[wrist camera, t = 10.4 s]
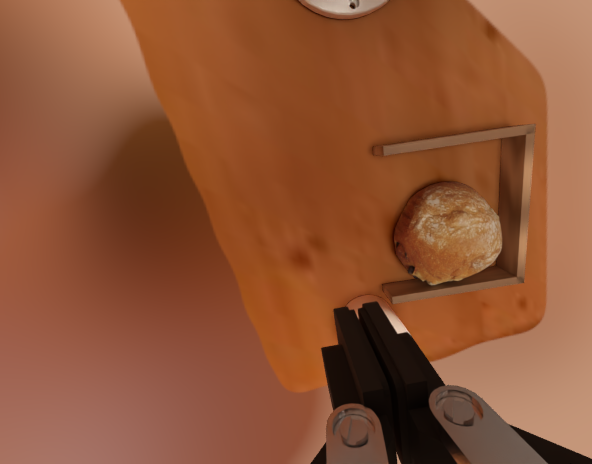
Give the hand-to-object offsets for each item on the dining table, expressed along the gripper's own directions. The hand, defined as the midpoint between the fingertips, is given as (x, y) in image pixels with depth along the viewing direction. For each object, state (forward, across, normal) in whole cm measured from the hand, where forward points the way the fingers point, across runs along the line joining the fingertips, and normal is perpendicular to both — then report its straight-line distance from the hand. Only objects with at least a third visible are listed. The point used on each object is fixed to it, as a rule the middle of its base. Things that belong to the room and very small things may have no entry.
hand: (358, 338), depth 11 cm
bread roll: (+20, -13, +4) cm, 25 cm away
